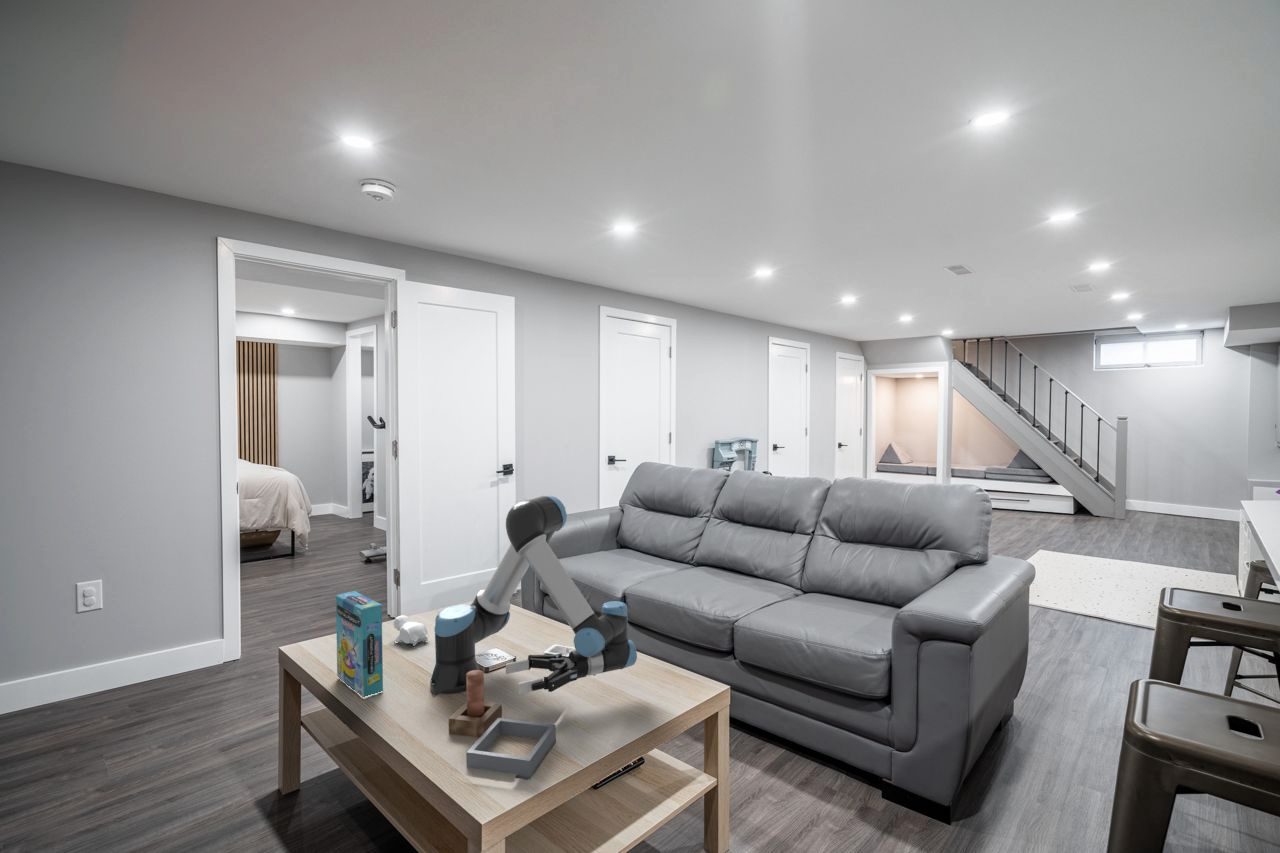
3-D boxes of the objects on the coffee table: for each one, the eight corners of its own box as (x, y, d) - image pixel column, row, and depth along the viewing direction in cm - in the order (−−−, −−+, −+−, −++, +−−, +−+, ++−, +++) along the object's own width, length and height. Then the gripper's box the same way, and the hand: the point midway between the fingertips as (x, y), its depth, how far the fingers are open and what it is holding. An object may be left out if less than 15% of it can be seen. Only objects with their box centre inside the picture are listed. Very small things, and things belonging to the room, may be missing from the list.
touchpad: (554, 647, 212) (554, 641, 212) (591, 653, 207) (591, 647, 207) (542, 655, 205) (542, 649, 205) (580, 661, 199) (580, 655, 199)
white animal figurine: (428, 648, 220) (404, 626, 227) (433, 629, 218) (409, 607, 225) (408, 656, 212) (384, 633, 220) (413, 636, 211) (389, 614, 218)
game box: (336, 679, 187) (334, 595, 187) (356, 673, 192) (354, 590, 191) (362, 700, 173) (360, 609, 173) (384, 692, 178) (382, 603, 177)
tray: (466, 770, 138) (466, 752, 138) (498, 734, 154) (498, 717, 154) (529, 779, 134) (529, 760, 134) (556, 741, 150) (555, 724, 150)
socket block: (448, 737, 153) (448, 718, 153) (468, 717, 162) (468, 700, 162) (484, 741, 150) (483, 722, 150) (502, 721, 160) (501, 703, 160)
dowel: (464, 729, 155) (463, 676, 154) (472, 720, 159) (471, 669, 159) (479, 731, 154) (478, 677, 153) (487, 722, 158) (486, 670, 158)
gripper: (601, 693, 159) (524, 712, 149) (570, 659, 181) (501, 674, 172) (601, 665, 159) (524, 683, 149) (570, 635, 181) (500, 648, 172)
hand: (511, 678), depth 160 cm, fingers open, 13 cm apart
